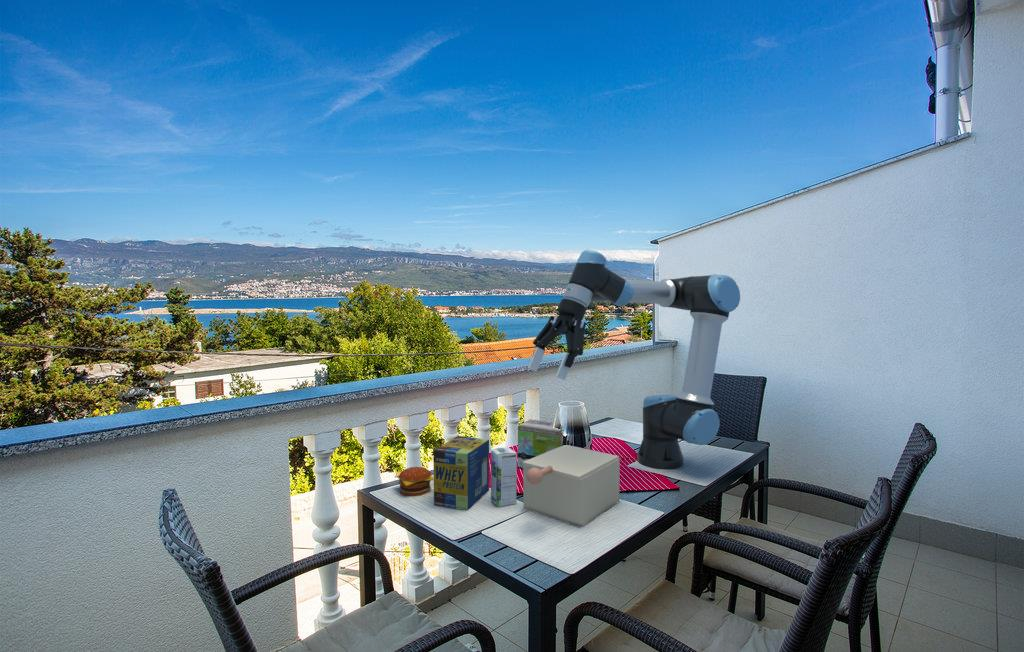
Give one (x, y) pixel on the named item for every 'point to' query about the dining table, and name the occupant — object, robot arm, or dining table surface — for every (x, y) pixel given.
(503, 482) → the syrup box
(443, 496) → the protein box
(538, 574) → the dining table surface
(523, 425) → the tea box
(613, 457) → the lid
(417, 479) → the hamburger
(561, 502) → the carton
